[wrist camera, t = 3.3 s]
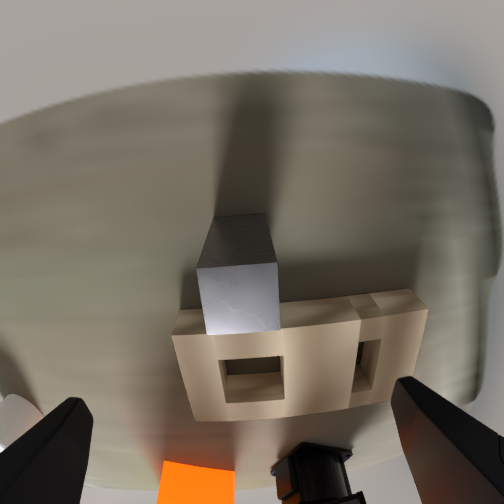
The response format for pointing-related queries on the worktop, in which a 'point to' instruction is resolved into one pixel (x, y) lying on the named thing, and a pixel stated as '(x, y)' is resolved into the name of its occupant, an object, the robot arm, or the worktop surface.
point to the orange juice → (195, 485)
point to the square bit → (239, 276)
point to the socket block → (303, 357)
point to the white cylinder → (16, 418)
